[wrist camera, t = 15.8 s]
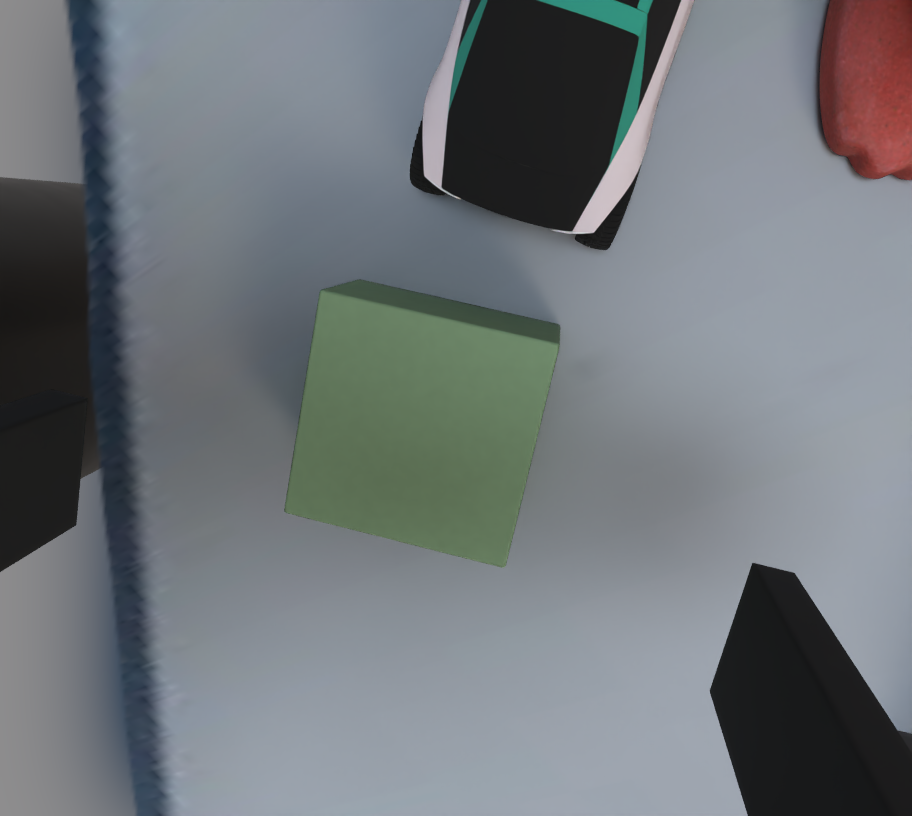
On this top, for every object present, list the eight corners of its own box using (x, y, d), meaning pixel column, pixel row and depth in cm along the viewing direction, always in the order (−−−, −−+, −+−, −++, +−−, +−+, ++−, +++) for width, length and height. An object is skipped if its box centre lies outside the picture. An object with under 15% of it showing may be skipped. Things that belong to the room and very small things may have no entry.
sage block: (324, 470, 26) (282, 513, 22) (357, 278, 25) (319, 289, 21) (513, 517, 26) (504, 569, 22) (560, 324, 24) (559, 344, 20)
